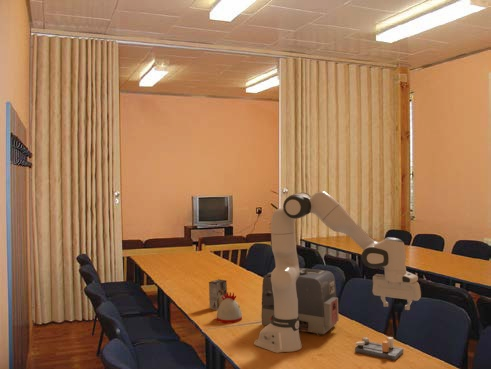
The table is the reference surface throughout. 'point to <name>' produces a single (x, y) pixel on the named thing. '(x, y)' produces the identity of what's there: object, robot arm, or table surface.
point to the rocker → (360, 343)
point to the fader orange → (385, 346)
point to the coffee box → (217, 293)
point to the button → (366, 340)
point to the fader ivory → (390, 341)
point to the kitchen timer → (229, 310)
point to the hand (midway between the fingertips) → (396, 308)
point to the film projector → (307, 300)
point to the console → (379, 351)
